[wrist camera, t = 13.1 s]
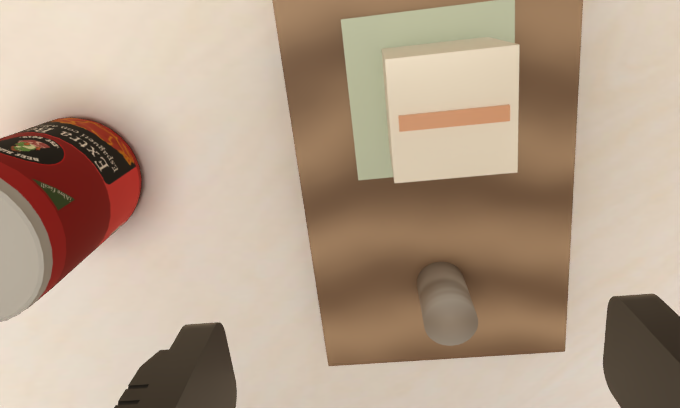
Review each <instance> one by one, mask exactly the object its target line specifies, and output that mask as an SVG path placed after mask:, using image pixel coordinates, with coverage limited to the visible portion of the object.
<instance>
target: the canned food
mask: <svg viewBox="0 0 680 408" xmlns="http://www.w3.org/2000/svg"><path fill="white" fill-rule="evenodd" d="M140 191H141V173H140V168H139V165H138V162H137V160H136V157H135V155H134V153H133V152H132V150H131V149H130V147H129V145H128V144H127V143H126V142H125V141H124V140H123V139H122V138H121V137H120V136H119V135H118V134H117V133H115V132H114V131H113V130H111V129H110V128H108V127H106V126H104V125H102V124H100V123H97V122H94V121H91V120H85V119H77V118H61V119H56V120H53V121H49V122H46V123H44V124H41V125H38V126H35V127H32V128H29V129H26V130H24V131H21V132H18V133H15V134H12V135H9V136H6V137H4V138H1V139H0V322H2V321H6V320H8V319H10V318H12V317H14V316H17V315H19V314H20V313H21V312H22V311H24V310H26V309H28V308H29V307H30V306H31V305H33V304H34V303H35V302H36V301H37V300H39V299H40V298H41V297H42V296H43V295H44V294H46V293H47V292H48V291H49V290H50V289H52V288H53V287H54V286H55V285H56V284H57V283H58V282H59V281H61V280H62V279H63V278H64V277H65V276H66V275H67V274H68V273H69V272H71V271H72V270H73V269H74V268H75V267H76V266H77V265H78V264H79V263H81V262H82V261H83V260H84V259H85V258H86V257H87V256H88V255H89V254H90V253H92V252H93V251H94V250H95V249H96V248H97V247H98V246H99V245H100V244H102V243H103V242H104V241H105V240H106V239H107V238H108V237H109V236H110V235H112V234H113V233H114V232H115V231H116V230H117V229H118V228H119V227H120V226H122V225H123V224H124V223H125V222H126V221H127V220H128V218H129V217H130V216H131V215H132V213H133V211H134V209H135V207H136V205H137V202H138V199H139V196H140Z"/></svg>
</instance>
